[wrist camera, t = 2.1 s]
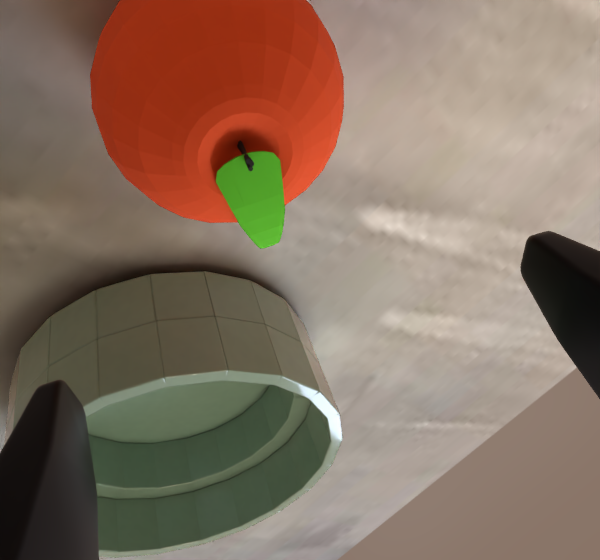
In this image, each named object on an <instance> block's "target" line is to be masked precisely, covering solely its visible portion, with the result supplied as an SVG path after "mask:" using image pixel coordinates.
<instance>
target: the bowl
mask: <svg viewBox="0 0 600 560" xmlns="http://www.w3.org/2000/svg"><path fill="white" fill-rule="evenodd" d="M55 380H63V381H65V382H66V383H67V385H68V386H69V387H70V389H71V390H72V391H73V393H74V394H75V395H76V397H77V398H78V399H79V401H80V402H81V404H82V406H83V408H84V411H85V415H86V421H87V428H88V435H89V441H90V448H91V455H92V461H93V468H94V475H95V481H96V489H97V503H98V539H99V557H111V558H113V557H114V558H118V557H131V556H143V555H155V554H161V553H166V552H170V551H175V550H180V549H184V548H189V547H193V546H198V545H202V544H206V543H208V542H211V541H214V540H217V539H220V538H223V537H226V536H228V535H231V534H234V533H237V532H240V531H242V530H245V529H247V528H249V527H251V526H253V525H255V524H257V523H259V522H261V521H263V520H264V519H266V518H268V517H270V516H272V515H274V514H276V513H278V512H280V511H282V510H283V509H284V508H286V507H287V506H288V505H290V504H291V503H292V502H294V501H295V500H297V499H298V498H299V497H301V496H302V495H303V494H305V493H306V492H307V491H309V490H310V489H311V488H312V487H313V486H314V485H315V484H316V483H317V481H318V480H319V479H320V478H321V477H322V476H323V475H324V474H325V472H326V471H327V470H328V469H329V468H330V467H331V466H332V464H333V461H334V459H335V456H336V454H337V452H338V449H339V447H340V444H341V442H342V439H343V435H342V427H341V420H340V413H339V410H338V408H337V406H336V403H335V401H334V398H333V396H332V393H331V391H330V388H329V386H328V383H327V381H326V378H325V376H324V373H323V371H322V368H321V366H320V363H319V361H318V358H317V356H316V353H315V351H314V348H313V346H312V344H311V341H310V339H309V336H308V334H307V331H306V329H305V326H304V324H303V322H302V321H301V320H300V318H299V317H298V316H297V314H296V313H295V312H294V311H293V309H292V308H291V307H290V306H289V304H288V303H287V302H286V300H285V299H283V298H281V297H280V296H278V295H276V294H274V293H272V292H271V291H269V290H267V289H265V288H263V287H261V286H260V285H258V284H256V283H254V282H252V281H250V280H247V279H242V278H237V277H232V276H227V275H222V274H217V273H212V272H207V271H204V272H202V271H199V272H179V273H159V274H150V275H144V276H141V277H137V278H134V279H130V280H127V281H123V282H120V283H117V284H113V285H110V286H106V287H103V288H99V289H97V290H94V291H92V292H90V293H89V294H87V295H85V296H84V297H82V298H80V299H78V300H77V301H75V302H73V303H72V304H70V305H68V306H66V307H65V308H63V309H61V310H60V311H58V312H56V313H54V314H53V315H52V316H50V317H49V318H48V319H47V320H46V321H45V322H44V323H43V325H42V326H41V327H40V328H39V329H38V330H37V331H36V332H35V334H34V335H33V336H32V337H31V338H30V339H29V340H28V341H27V342H26V344H25V345H24V346H23V347H22V349H21V350H20V353H19V357H18V360H17V363H16V366H15V370H14V373H13V376H12V379H11V384H10V394H9V403H8V412H7V422H6V433H5V440H4V445H5V444H6V442H7V440H8V438H9V436H10V435H11V433H12V431H13V429H14V427H15V426H16V424H17V422H18V420H19V418H20V416H21V415H22V413H23V411H24V409H25V407H26V406H27V404H28V402H29V400H30V398H31V397H32V395H33V393H34V391H35V390H36V388H37V387H38V386H40V385H42V384H45V383H49V382H52V381H55Z"/></svg>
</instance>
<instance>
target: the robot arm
mask: <svg viewBox="0 0 600 560" xmlns="http://www.w3.org/2000/svg"><path fill="white" fill-rule="evenodd" d="M521 274H522V277H523V279H524V281H525V283H526V284H527V286H528V288H529V290H530V291H531V293H532V295H533V297H534V299H535V300H536V302H537V304H538V306H539V308H540V309H541V311H542V313H543V315H544V317H545V318H546V320H547V322H548V324H549V326H550V327H551V329H552V331H553V333H554V334H555V336H556V338H557V339H558V341H559V342H560V344H561V345H562V347H563V348H564V350H565V351H566V352H567V354H568V355H569V357H570V358H571V359H572V361H573V362H574V364H575V365H576V366H577V368H578V369H579V371H580V372H581V373H582V375H583V376H584V378H585V379H586V380H587V382H588V383H589V385H590V386H591V387H592V389H593V390H594V392H595V393H596V394H597V396H598V397H599V399H600V251H598V250H595V249H593V248H591V247H588V246H586V245H583V244H581V243H578V242H576V241H574V240H571V239H569V238H566V237H564V236H562V235H559V234H557V233H554V232H551V231H546V232H542V233H539V234H535V235H532V236H530V237H529V238H528V239H527V241H526V245H525V249H524V253H523V258H522V262H521ZM0 560H99V539H98V503H97V489H96V481H95V475H94V468H93V461H92V455H91V448H90V441H89V435H88V428H87V421H86V415H85V411H84V408H83V406H82V404H81V402H80V401H79V399H78V398H77V397H76V395H75V394H74V393H73V391H72V390H71V389H70V387H69V386H68V385H67V383H66V382H65V381H63V380H55V381H52V382H49V383H45V384H42V385H40V386H38V387H37V388H36V390H35V391H34V393H33V395H32V397H31V398H30V400H29V402H28V404H27V406H26V407H25V409H24V411H23V413H22V415H21V416H20V418H19V420H18V422H17V424H16V426H15V427H14V429H13V431H12V433H11V435H10V436H9V438H8V440H7V442H6V444H5V445H4V447H3V449H2V451H1V453H0Z"/></svg>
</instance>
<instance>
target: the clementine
mask: <svg viewBox="0 0 600 560" xmlns="http://www.w3.org/2000/svg"><path fill="white" fill-rule="evenodd" d="M90 79H91V97H92V109H93V112H94V115H95V118H96V121H97V124H98V127H99V129H100V132H101V135H102V138H103V141H104V143H105V146H106V149H107V152H108V154H109V156H110V157H111V158H112V160H113V161H114V163H115V164H116V165H117V167H118V168H119V170H120V171H121V172H122V174H123V175H124V177H125V178H126V179H127V180H128V181H129V182H131V183H132V184H133V185H134V186H135V187H137V188H138V189H139V190H140V191H141V192H143V193H144V194H145V195H146V196H147V197H149V198H150V199H151V200H152V201H154V202H155V203H156V204H158V205H159V206H161V207H163V208H165V209H167V210H169V211H171V212H173V213H176V214H178V215H180V216H182V217H185V218H189V219H194V220H199V221H204V222H208V223H222V222H238V223H239V225H240V226H241V227H242V229H243V230H244V231H245V232H246V234H247V235H248V236H249V237H250V238H251V240H252V241H253V242H254V243H255V244H256V245H257V246H258V247H259V248H260V249H261V248H266V247H269V246H272V245H275V244H276V243H278V242H279V241H280V238H281V235H282V230H283V225H284V214H285V205H286V204H287V203H289V202H290V201H291V200H293V199H294V198H296V197H297V196H298V195H300V194H301V193H302V192H304V191H305V190H306V189H307V188H308V187H309V186H310V184H311V183H312V182H313V181H314V180H315V179H316V177H317V176H318V175H319V174H320V173H321V172H322V171H323V169H324V167H325V165H326V163H327V162H328V160H329V158H330V156H331V154H332V152H333V150H334V148H335V146H336V143H337V139H338V135H339V131H340V127H341V123H342V116H343V107H344V90H343V73H342V70H341V66H340V63H339V59H338V56H337V52H336V48H335V46H334V44H333V42H332V40H331V38H330V36H329V33H328V32H327V30H326V28H325V27H324V25H323V24H322V22H321V20H320V19H319V17H318V15H317V14H316V12H315V11H314V9H313V7H312V6H311V5H310V4H309V3H308V2H307V1H306V0H120V1H119V3H118V4H117V6H116V8H115V9H114V11H113V13H112V15H111V16H110V18H109V20H108V21H107V23H106V25H105V27H104V28H103V30H102V32H101V35H100V38H99V41H98V45H97V49H96V53H95V57H94V61H93V66H92V70H91V74H90Z"/></svg>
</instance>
